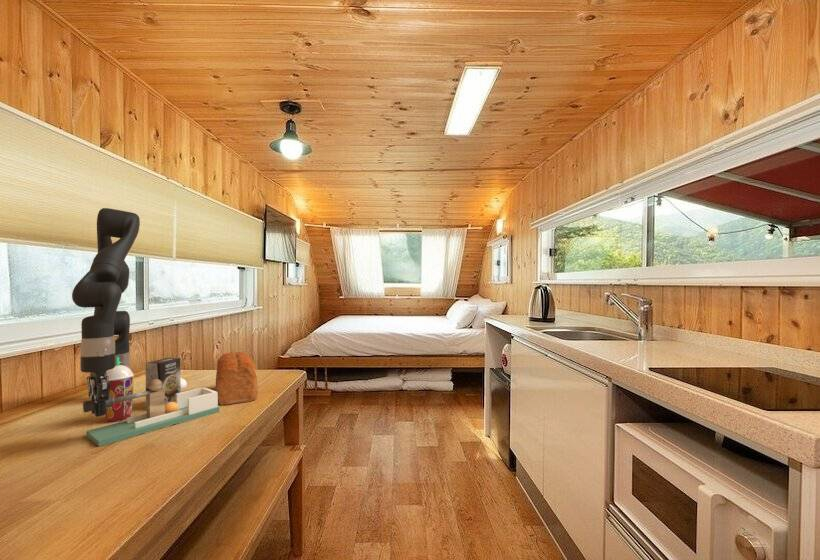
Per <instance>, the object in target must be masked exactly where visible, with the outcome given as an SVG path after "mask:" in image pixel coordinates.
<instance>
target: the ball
mask: <svg viewBox="0 0 820 560" xmlns="http://www.w3.org/2000/svg"><path fill="white" fill-rule="evenodd" d="M175 411H178V404H177V403H175V402H169V403H167V404H166V405H165V414H167V413H171V412H175Z"/></svg>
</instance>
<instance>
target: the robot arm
mask: <svg viewBox="0 0 820 560" xmlns="http://www.w3.org/2000/svg"><path fill="white" fill-rule="evenodd" d="M140 223H141V222H140V217H139V215H138V214H137V213H134V212H131V211H126V210H121V209H120V210H119V209H115V208H108V207H104V208H103V207H102V208H100V210H99V211H98V212H97V216H96V239H97V254H96V255H95V256H94V258H93V260H92V262H91V265H90V268H89V270H88V271H87V273H85V275H83V277H82V278H81V279H80V280H79V281H78V282H77V283H76V284H75V286H74V288H73V290H72V292H71V293H72V294H71V300H72V301H73V303H74V304H75V305H76V306H77V307H80V308H85V309H87V308H94V312H93V315H91V316H85V317H84V318H82V320H81V324H80V325H81V327H80V329H81V341H80V348H79V349H80V351H79V352H80V354H79V355H80V357H79V360H80V363H79V364H80V369H79V370H80V372H81V373H87V374H89V375H88V376H86V381H87V383H86V384H87V390H88V391H87V392H88V395H87V396H88V398H89V400H93V399H95V401H94V402H95V410H94V411H91V414H92V415H94V416H95V417H98V418H99V417H102V416H105V414H106V401H107V400H109V392H110V384H111V382H110V381H109V376H107V373H106V371H107V370H110V369H113V368H114V367H115V366H116V365H117V357H119V365H124V366H127V367H128V368H130V330H131V327H130V326H131V318H130V314H129V312H128V311H126V310H118V307H119V305H120V302H121V299H122V294H123V293H124V292H125V291H126V290H127V288H128V286H129V282H130V281H129V280H130V268H129V266H128V263H127V262H126V261H125V259H126V257H127V255H128V254H129V252H130V250H131V248H133V247H132V246H133V245H134V242H135V240H136V238H137V237H138V235H139V232H140V225H141V224H140ZM112 238H117V239H118V240H116V241H114V242H113V239H112ZM115 336H118V337H117V338H116V339H115ZM130 369H131V368H130Z"/></svg>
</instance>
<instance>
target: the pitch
mask: <svg viewBox="0 0 820 560" xmlns="http://www.w3.org/2000/svg"><path fill="white" fill-rule="evenodd" d="M176 403H177V404H178V411H175V412H171V413H167V414H164V415H160V416H156V417H152V418H149V419H147V418H146V412H143V413H140V414H136V415H132V416H130V417H128V418H127V419H125V420H122V421H118V422H114V423H111V424H108V425H107V424H106V425H103V426H100V427H96V428H93V429H92V428H91V429H89V430H86V431H85V432H86V437H87V438H88V439H90V441H92V442H93V443H94V444H95V445H96V446H97V445H98V446H100V447H103V445H104V446H106V445H111V444H113V443H116V442H121V441H123V439H124V440H127V439H126V438H128V439H130V437H131V438H133V437H132V436H134V437H137V436H136V435H138V436H140V435H139V434H141V435H143V434H142V433H145V434H147V433H146V432H148V433H150V432H149V431H152V430H155V431H157V430H156V429H158V430H160V429H159V428H162V427H165V428H167V427H166V426H169V425H172V426H174V425H173V424H176V425H178V424H177V423H179V424H182V423H185V422H189V421H193V420H196V419H199V418H203V417H206V416H210V415H213V414H217V413H219V412H220V407H219V403H218V392H216V390H213V389H210V388H207V387H198V388H194V389H190V390H186V391H181V393H177V394H176ZM181 422H182V423H181ZM169 427H170V426H169ZM162 429H163V428H162ZM152 432H153V431H152ZM120 440H121V441H120ZM98 446H97V447H98Z"/></svg>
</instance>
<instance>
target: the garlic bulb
mask: <svg viewBox="0 0 820 560" xmlns="http://www.w3.org/2000/svg"><path fill="white" fill-rule="evenodd" d="M180 381H181V390H183V389H185V388H186V387H187V385H188V382H187V381H186V380H185V379H184V378H182V377H181V376H180ZM182 388H183V389H182Z"/></svg>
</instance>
